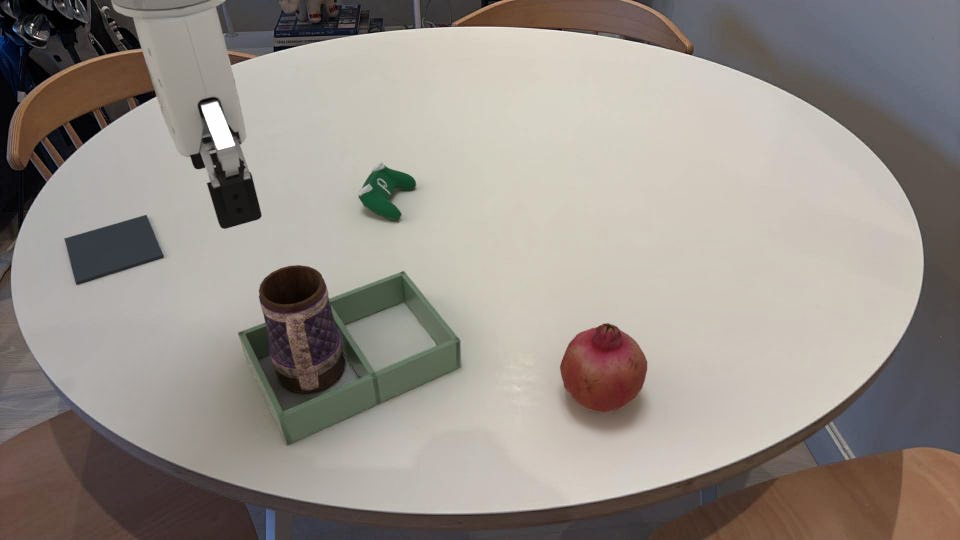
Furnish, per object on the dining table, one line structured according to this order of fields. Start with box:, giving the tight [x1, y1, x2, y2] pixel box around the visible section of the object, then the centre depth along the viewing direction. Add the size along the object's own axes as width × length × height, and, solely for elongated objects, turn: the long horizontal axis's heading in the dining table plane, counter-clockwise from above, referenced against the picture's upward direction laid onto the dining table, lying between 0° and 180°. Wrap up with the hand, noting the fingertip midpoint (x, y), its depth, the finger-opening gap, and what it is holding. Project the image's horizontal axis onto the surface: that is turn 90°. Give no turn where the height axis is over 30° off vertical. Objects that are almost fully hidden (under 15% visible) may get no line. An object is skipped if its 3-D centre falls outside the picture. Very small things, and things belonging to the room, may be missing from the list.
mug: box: [258, 264, 345, 394], centre depth 67 cm, size 10×7×12 cm
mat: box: [64, 214, 165, 285], centre depth 88 cm, size 10×10×1 cm
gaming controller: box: [358, 162, 417, 222], centre depth 95 cm, size 9×4×6 cm
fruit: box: [559, 322, 648, 414], centre depth 66 cm, size 8×8×10 cm
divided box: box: [237, 270, 462, 446], centre depth 72 cm, size 19×13×4 cm
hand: (226, 191), depth 58 cm, fingers open, 9 cm apart
